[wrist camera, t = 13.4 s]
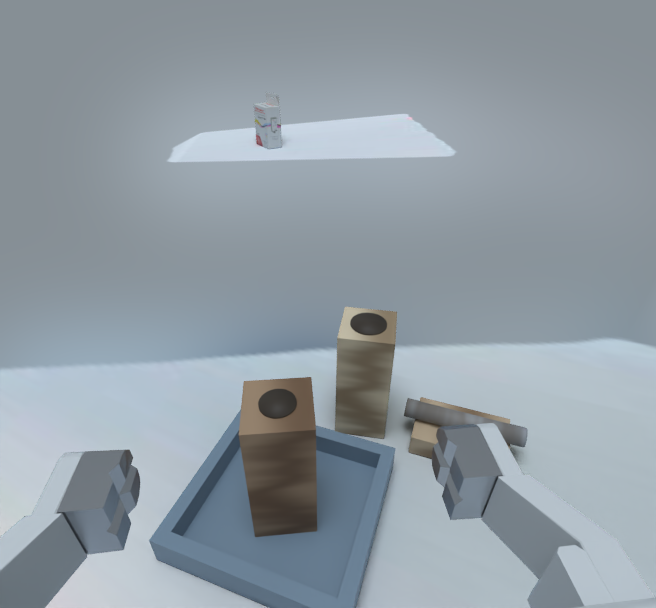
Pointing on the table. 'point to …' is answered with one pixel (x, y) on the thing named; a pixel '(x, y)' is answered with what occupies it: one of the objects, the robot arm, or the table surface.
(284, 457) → the walnut block
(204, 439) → the table surface
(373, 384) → the oak block
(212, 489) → the tray
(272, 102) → the ink cartridge box
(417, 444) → the gauge rest
